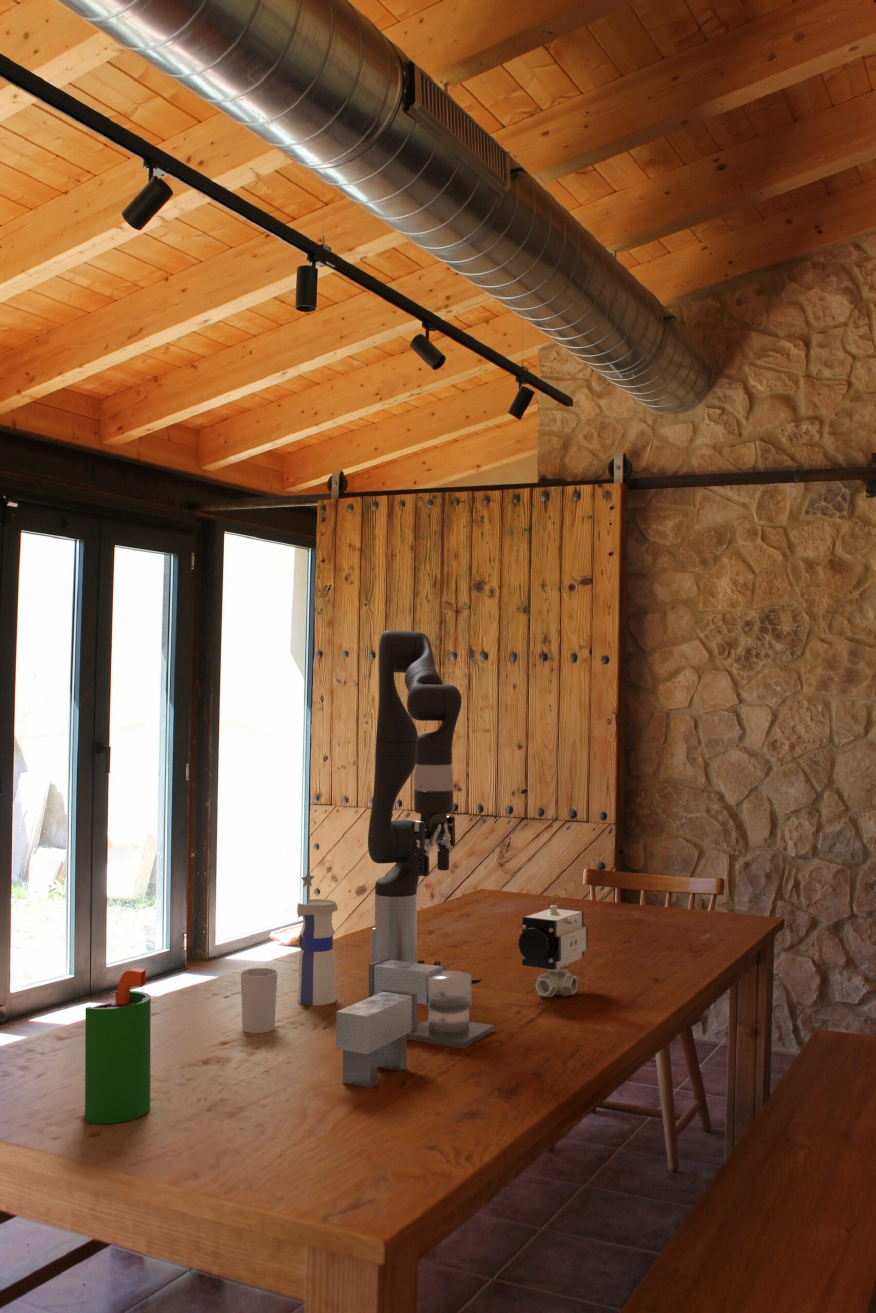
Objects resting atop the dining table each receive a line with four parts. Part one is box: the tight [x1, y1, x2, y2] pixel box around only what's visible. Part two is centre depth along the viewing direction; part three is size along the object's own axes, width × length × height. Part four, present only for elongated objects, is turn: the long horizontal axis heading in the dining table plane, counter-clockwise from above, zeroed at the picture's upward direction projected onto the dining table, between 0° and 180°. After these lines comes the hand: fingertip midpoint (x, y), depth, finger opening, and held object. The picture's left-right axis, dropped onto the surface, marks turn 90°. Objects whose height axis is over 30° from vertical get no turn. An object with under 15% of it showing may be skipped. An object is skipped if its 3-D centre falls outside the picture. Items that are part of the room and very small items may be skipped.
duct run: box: [335, 988, 418, 1089], centre depth 172 cm, size 15×6×11 cm, turn 152°
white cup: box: [240, 967, 278, 1034], centre depth 198 cm, size 7×7×10 cm
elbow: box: [368, 957, 472, 1010], centre depth 197 cm, size 19×8×6 cm, turn 62°
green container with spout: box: [84, 967, 152, 1125], centre depth 156 cm, size 10×9×20 cm
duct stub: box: [407, 1007, 495, 1049], centre depth 194 cm, size 12×12×5 cm
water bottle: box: [296, 870, 338, 1006], centre depth 217 cm, size 8×9×25 cm
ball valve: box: [518, 904, 589, 998], centre depth 223 cm, size 18×8×18 cm, turn 148°
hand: (433, 872), depth 209 cm, fingers open, 8 cm apart
